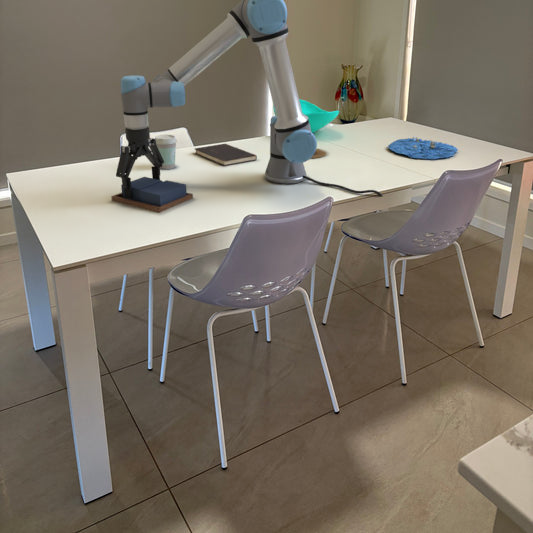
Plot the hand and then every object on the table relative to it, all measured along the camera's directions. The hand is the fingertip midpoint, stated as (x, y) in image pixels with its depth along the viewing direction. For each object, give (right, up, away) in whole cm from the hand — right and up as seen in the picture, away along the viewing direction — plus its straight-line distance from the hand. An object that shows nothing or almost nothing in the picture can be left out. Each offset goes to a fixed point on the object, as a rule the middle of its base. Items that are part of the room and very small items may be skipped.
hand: (143, 191), depth 196 cm
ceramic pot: (+58, +23, +56) cm, 84 cm away
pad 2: (+8, -4, -4) cm, 9 cm away
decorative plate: (+109, +25, +61) cm, 128 cm away
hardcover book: (+24, +20, +49) cm, 58 cm away
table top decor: (+60, +40, +91) cm, 116 cm away
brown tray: (+3, -3, -1) cm, 5 cm away
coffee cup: (+2, +14, +35) cm, 37 cm away
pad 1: (0, -2, +1) cm, 2 cm away
